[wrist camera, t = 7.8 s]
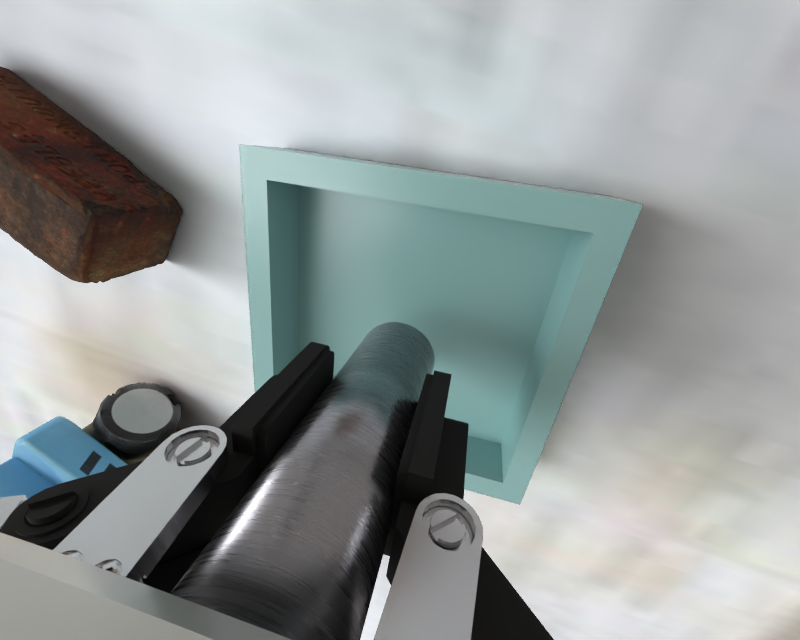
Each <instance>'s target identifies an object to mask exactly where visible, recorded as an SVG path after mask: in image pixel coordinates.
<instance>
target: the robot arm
mask: <svg viewBox="0 0 800 640" xmlns="http://www.w3.org/2000/svg"><path fill="white" fill-rule="evenodd" d="M333 372H334V352H333V351H330V347H329V346H328V345H324V344H320V343H316V342H310V343H309V344H308V345H307V346H306V347H305V348H304V349H303V350H302V351H301V352H300V353H299V354H298V355H297V356H296V357H295V358H294V359H293V360H292V361H291V362H290V363H289V364H288V365H287V366H286V367H285V368H284V369H283V370H282V371H281V372H280V373H279V374H278V375H274V376H272V377H271V378H270V379H269V380H268V381H267V382H266V383H265V384H264V385H263V386H262V387H260V388H259V389H258V390H257V391H256V392H255V393H254V394H253V395H252V396H251V397H250V398H249V399H248V400H247V401H246V402H245V403H244V404H243V405H242V406H241V407H240V408H239V409H238V410H237V411H236V412H235V413H234V414H233V415H232V416H231V417H230V418H229V419H228V420H227V421H226V422H225V423H224V424H223V425H222V426H221V427H220V428H216V427H214V426H207V425H200V426H192V427H189V428H185V429H182V430H180V431H178V432H176V433H174V434H172V435H171V436H170V437H168V438H167V439H166V440H165V441H163V442H162V443H161V444H160V445H159V446H158V447H157V448H156V449H155V450H154V451H153V452H152V453H151V454H150V455H149V456H148V457H147V458H146V459H145V460H143V461H139V462H136V463H132V464H129V465H125V466H121V467H118V468H114V469H111V470H107V471H103V472H100V473H96V474H93V475H89V476H86V477H82V478H78V479H75V480H71V481H68V482H64V483H60V484H58V485H55V486H52V487H49V488H46V489H44V490H43V491H41V492H39V493H37V494H35V495H33V496H31V497H30V498H29V499H27V497H26V495H18V496H9V497H0V640H291V639H289V638H286V637H284V636H281V635H278V634H276V633H273V632H270V631H268V630H265V629H262V628H260V627H257V626H254V625H252V624H249V623H246V622H244V621H241V620H239V619H236V618H233V617H231V616H228V615H225V614H223V613H220V612H217V611H215V610H212V609H209V608H207V607H204V606H201V605H199V604H196V603H193V602H191V601H188V600H185V599H183V598H180V597H177V596H175V595H172V594H170V593H171V591H172V590H173V589H174V588H175V586H176V585H177V584H178V582H179V581H180V580H181V578H182V577H183V576H184V574H185V573H186V572H187V570H188V569H189V568H190V567H191V565H192V564H193V563H194V561H195V560H196V559H197V557H198V556H199V555H200V553H201V552H202V551H203V549H204V548H205V547H206V545H207V544H208V543H209V542H210V540H211V539H212V538H213V536H214V535H215V534H216V532H217V531H218V530H219V528H220V527H221V526H222V524H223V523H224V522H225V521H226V519H227V518H228V517H229V515H230V514H231V513H232V511H233V510H234V509H235V507H236V506H237V505H238V503H239V502H240V501H241V500H242V498H243V497H244V496H245V494H246V493H247V492H248V490H249V489H250V488H251V486H252V485H253V484H254V482H255V481H256V480H257V479H258V477H259V476H260V475H261V473H262V472H263V471H264V469H265V468H266V467H267V465H268V464H269V463H270V461H271V460H272V459H273V457H274V456H275V455H276V454H277V452H278V451H279V450H280V448H281V447H282V446H283V444H284V443H285V442H286V440H287V439H288V438H289V436H290V435H291V434H292V433H293V431H294V430H295V429H296V427H297V426H298V425H299V423H300V422H301V421H302V419H303V418H304V417H305V415H306V414H307V413H308V412H309V410H310V409H311V408H312V406H313V405H314V404H315V402H316V401H317V400H318V398H319V397H320V396H321V394H322V393H323V392H324V390H325V389H326V388H327V387H328V385H329V384H330V383H331V381H332V380H333ZM451 375H452V374H448V373H444V372H440V371H435V370H434V374H433V375H432V374H428V373H427V374H426V377H425V380H424V383H423V387H422V390H421V394H420V397H419V400H418V404H417V407H416V410H415V414H414V417H413V421H412V424H411V427H410V431H409V434H408V437H407V441H406V444H405V448H404V451H403V454H402V458H401V461H400V465H399V469H398V474H397V479H396V484H395V490H394V496H393V502H392V511H393V517H392V523H391V527H390V530H389V534H388V538H387V541H386V545H385V549H384V553H383V554H385V555H388V556H390V559H389V564H388V570H387V575H386V576H387V578H388V580H389V582H390V584H391V588H390V591H389V594H388V597H387V600H386V603H385V606H384V610H383V613H382V616H381V619H380V622H379V625H378V628H377V631H376V634H375V637H374V640H554V639H553V638H552V637H551V636H550V634H549V633H548V632H547V630H546V629H545V628H544V626H543V625H542V624H541V623H540V621H539V620H538V619H537V617H536V616H535V615H534V614H533V612H532V611H531V610H530V608H529V607H528V606H527V604H526V603H525V602H524V601H523V599H522V598H521V597H520V595H519V594H518V593H517V592H516V590H515V589H514V588H513V586H512V585H511V584H510V582H509V581H508V580H507V579H506V577H505V576H504V575H503V573H502V572H501V571H500V570H499V568H498V567H497V566H496V564H495V563H494V562H493V560H492V559H491V558H490V557H489V555H488V554H487V553H486V551H485V550H484V549H483V548H482V541H483V527H482V524H481V521H480V518H479V516H478V515H477V513H476V512H475V510H474V509H473V508H472V507H471V506H470V505H469V504H468V503H467V502H466V501H464V500H463V496H464V483H465V469H466V455H467V442H468V428H469V425H468V423H465V422H461V421H457V420H454V419H450V418H446V417H444V416H445V410H446V404H447V399H448V393H449V387H450V381H451Z"/></svg>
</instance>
